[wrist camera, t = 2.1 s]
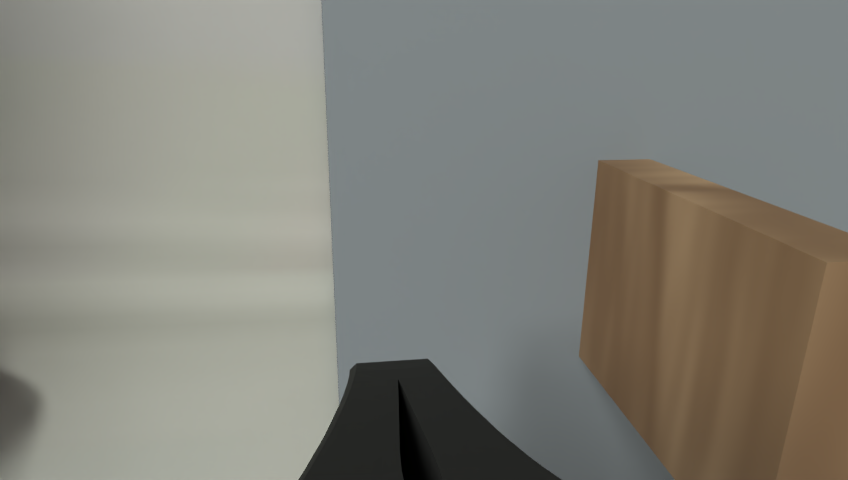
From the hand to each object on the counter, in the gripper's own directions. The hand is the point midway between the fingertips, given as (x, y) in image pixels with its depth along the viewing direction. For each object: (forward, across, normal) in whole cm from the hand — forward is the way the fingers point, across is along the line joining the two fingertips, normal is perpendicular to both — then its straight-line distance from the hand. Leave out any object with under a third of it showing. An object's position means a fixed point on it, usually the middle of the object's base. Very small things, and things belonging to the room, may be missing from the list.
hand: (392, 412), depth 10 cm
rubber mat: (+7, -8, 0) cm, 11 cm away
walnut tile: (+6, -7, 0) cm, 10 cm away
